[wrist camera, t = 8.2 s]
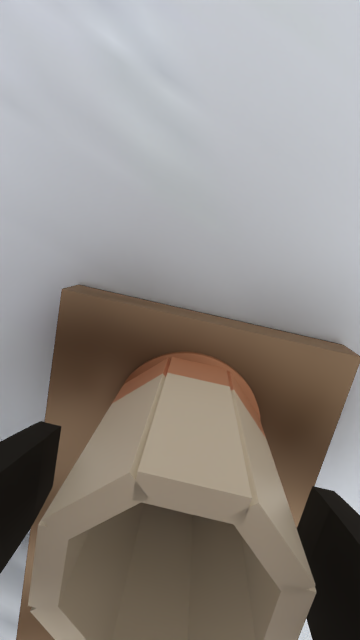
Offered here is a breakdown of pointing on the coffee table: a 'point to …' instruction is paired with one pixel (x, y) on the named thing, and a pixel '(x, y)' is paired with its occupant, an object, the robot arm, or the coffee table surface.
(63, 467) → the pin board
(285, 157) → the coffee table surface
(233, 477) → the sleeve
